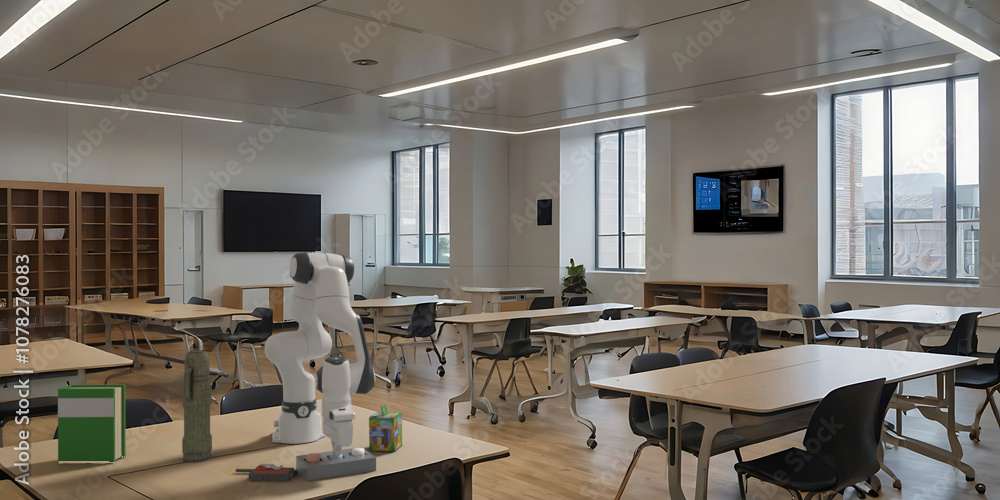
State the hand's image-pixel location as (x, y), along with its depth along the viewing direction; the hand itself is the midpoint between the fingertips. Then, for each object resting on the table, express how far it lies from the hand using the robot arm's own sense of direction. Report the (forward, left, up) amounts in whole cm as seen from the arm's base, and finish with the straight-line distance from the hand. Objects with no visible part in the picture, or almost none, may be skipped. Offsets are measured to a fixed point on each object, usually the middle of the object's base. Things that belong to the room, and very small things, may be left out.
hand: (336, 454), depth 224 cm
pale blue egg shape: (0, 0, -3) cm, 3 cm away
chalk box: (-16, +22, -5) cm, 28 cm away
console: (0, 0, -5) cm, 5 cm away
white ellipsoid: (0, +7, -2) cm, 7 cm away
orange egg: (0, -7, -2) cm, 8 cm away
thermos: (-35, -36, -5) cm, 51 cm away
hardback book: (-49, -66, -5) cm, 83 cm away
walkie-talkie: (-4, -21, -5) cm, 22 cm away
